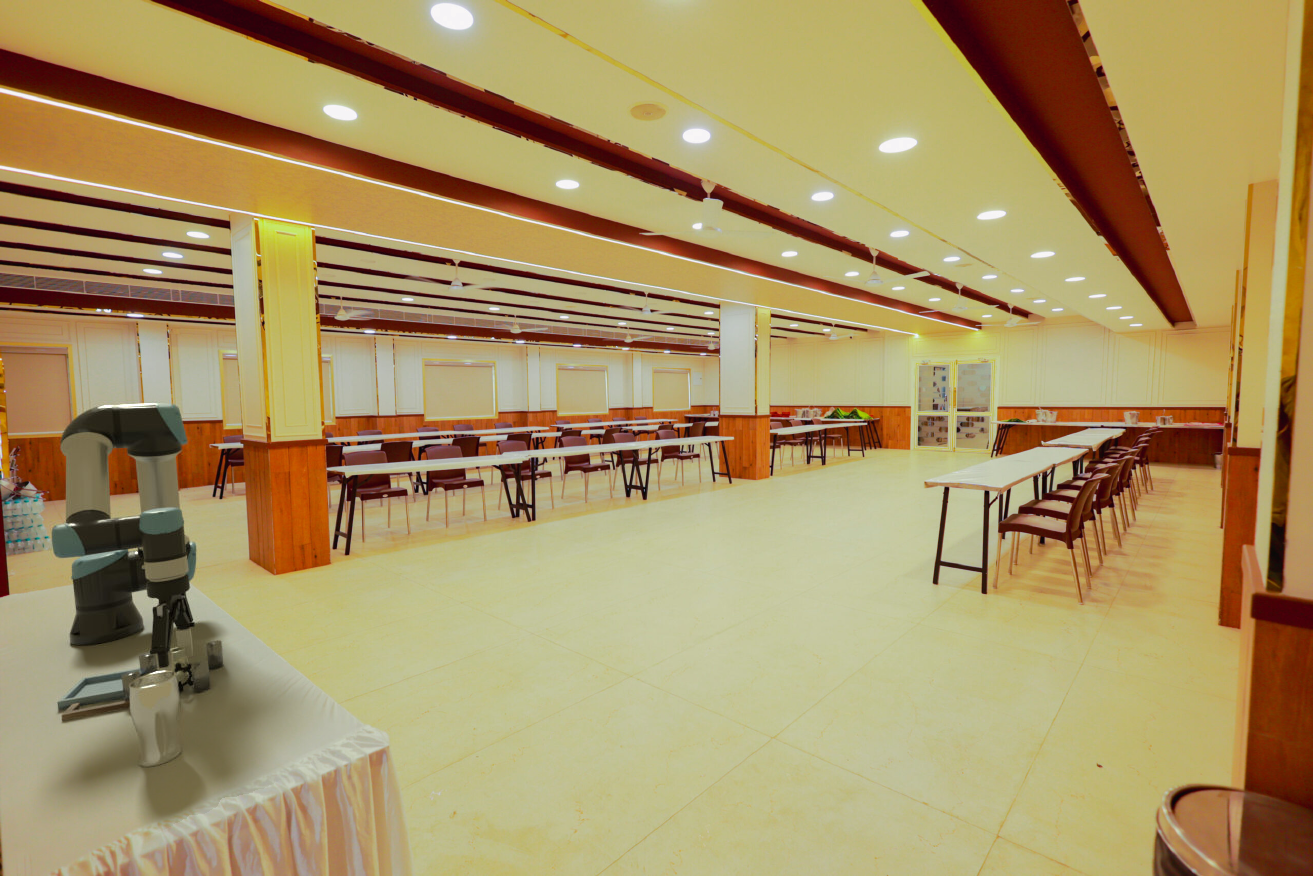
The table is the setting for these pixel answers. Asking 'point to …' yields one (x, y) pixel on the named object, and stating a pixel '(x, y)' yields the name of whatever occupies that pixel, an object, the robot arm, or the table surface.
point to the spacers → (198, 669)
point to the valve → (181, 667)
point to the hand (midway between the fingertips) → (176, 667)
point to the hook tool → (93, 709)
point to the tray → (95, 690)
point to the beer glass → (156, 716)
